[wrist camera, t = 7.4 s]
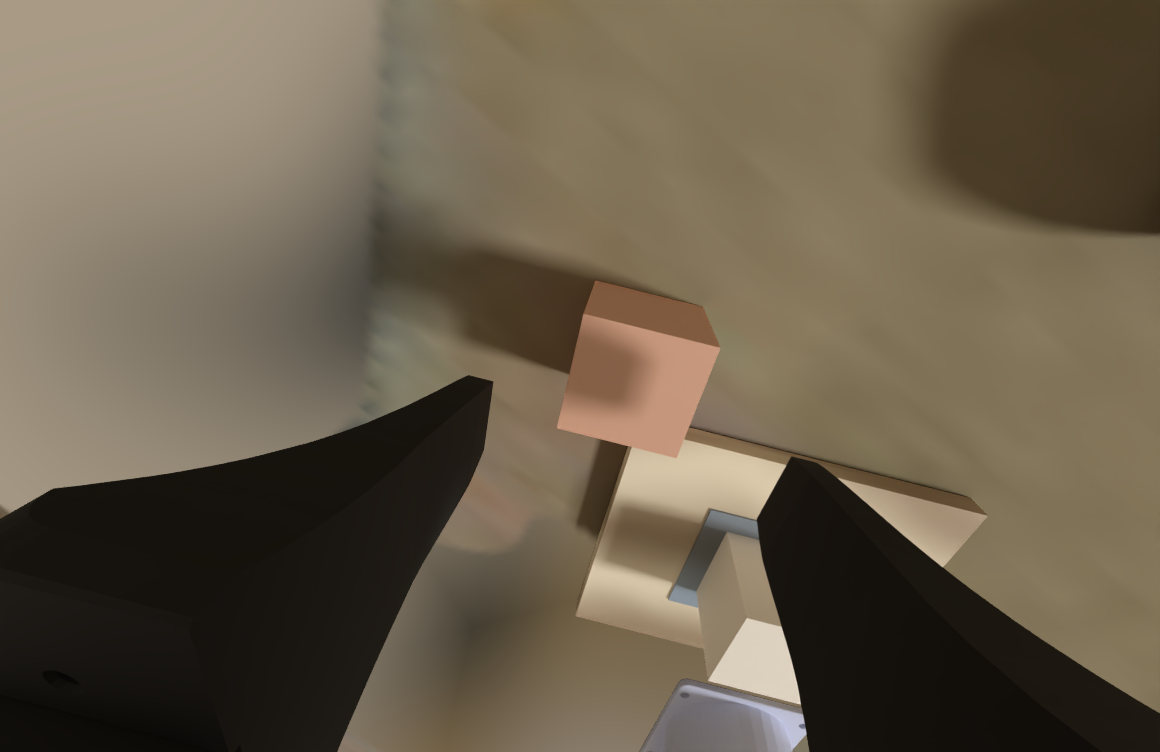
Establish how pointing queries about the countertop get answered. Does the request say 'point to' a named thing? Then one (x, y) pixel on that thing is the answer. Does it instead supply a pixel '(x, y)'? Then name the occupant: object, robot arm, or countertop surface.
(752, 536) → the base board
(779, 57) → the countertop surface
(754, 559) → the block base
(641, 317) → the block top
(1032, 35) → the countertop surface
